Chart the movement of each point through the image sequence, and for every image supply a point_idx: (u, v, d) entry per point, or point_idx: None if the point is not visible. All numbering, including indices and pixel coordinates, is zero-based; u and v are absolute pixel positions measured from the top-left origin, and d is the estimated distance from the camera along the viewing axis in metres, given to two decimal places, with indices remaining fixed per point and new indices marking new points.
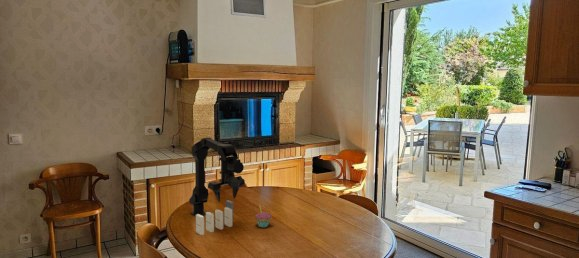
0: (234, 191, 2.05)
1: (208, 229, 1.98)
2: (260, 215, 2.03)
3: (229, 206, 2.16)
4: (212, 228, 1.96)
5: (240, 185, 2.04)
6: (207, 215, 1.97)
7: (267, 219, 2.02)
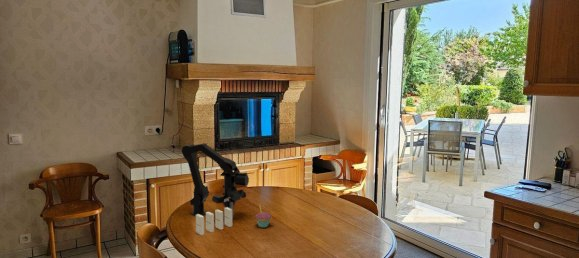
0: None
1: (208, 229, 1.98)
2: (260, 215, 2.03)
3: (229, 206, 2.16)
4: (212, 228, 1.96)
5: (236, 199, 2.17)
6: (207, 215, 1.97)
7: (267, 219, 2.02)
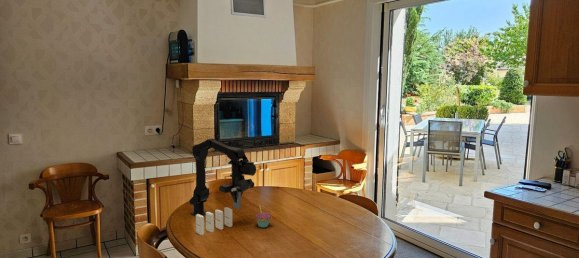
0: None
1: (208, 229, 1.98)
2: (260, 215, 2.03)
3: (237, 196, 2.06)
4: (212, 228, 1.96)
5: None
6: (207, 215, 1.97)
7: (267, 219, 2.02)
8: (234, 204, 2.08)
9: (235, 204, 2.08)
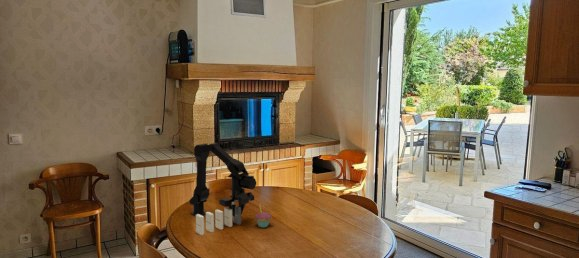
0: None
1: (208, 229, 1.98)
2: (260, 215, 2.03)
3: (237, 211, 2.07)
4: (212, 228, 1.96)
5: None
6: (207, 215, 1.97)
7: (267, 219, 2.02)
8: (234, 219, 2.09)
9: (235, 219, 2.09)
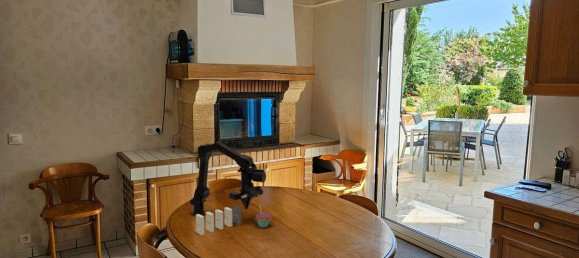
0: None
1: (208, 229, 1.98)
2: (260, 215, 2.03)
3: (237, 211, 2.07)
4: (212, 228, 1.96)
5: None
6: (207, 215, 1.97)
7: (267, 219, 2.02)
8: (234, 219, 2.09)
9: (235, 219, 2.09)
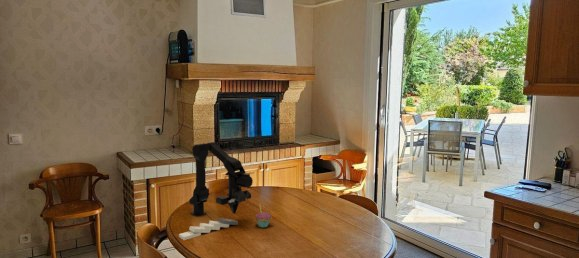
0: None
1: None
2: (260, 215, 2.03)
3: None
4: (207, 230, 1.94)
5: None
6: None
7: (267, 219, 2.02)
8: None
9: None
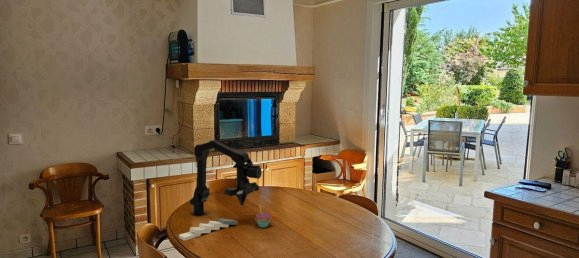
0: None
1: None
2: (260, 215, 2.03)
3: None
4: (207, 231, 1.94)
5: None
6: None
7: (267, 219, 2.02)
8: None
9: None
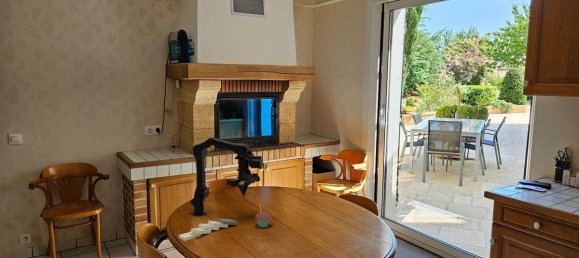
0: None
1: None
2: (260, 215, 2.03)
3: None
4: (208, 231, 1.94)
5: (249, 183, 2.14)
6: None
7: (267, 219, 2.02)
8: None
9: None
